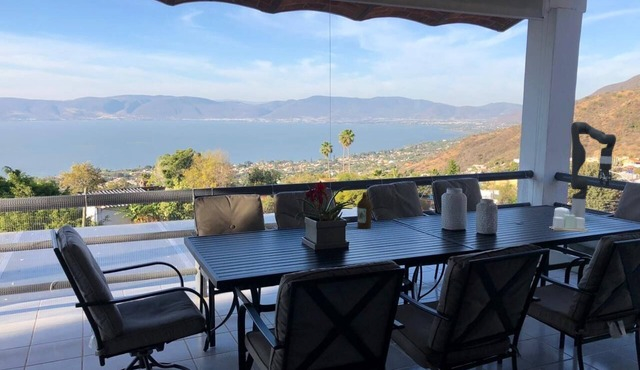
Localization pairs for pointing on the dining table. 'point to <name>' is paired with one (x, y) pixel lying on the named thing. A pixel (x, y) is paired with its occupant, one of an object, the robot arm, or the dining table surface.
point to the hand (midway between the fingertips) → (604, 185)
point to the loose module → (569, 221)
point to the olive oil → (364, 212)
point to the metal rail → (563, 228)
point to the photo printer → (561, 212)
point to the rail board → (570, 229)
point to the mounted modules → (579, 223)
